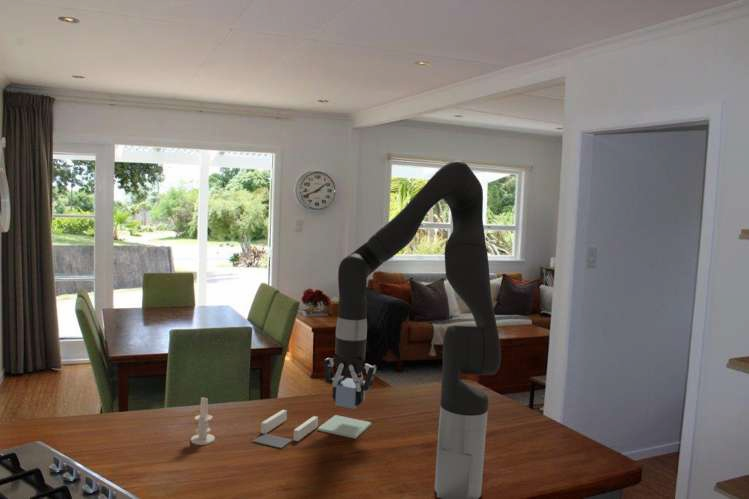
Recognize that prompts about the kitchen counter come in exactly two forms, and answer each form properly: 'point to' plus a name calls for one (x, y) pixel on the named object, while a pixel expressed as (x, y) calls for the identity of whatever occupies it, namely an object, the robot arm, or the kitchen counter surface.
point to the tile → (344, 426)
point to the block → (346, 394)
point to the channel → (280, 441)
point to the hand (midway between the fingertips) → (347, 402)
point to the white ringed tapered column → (203, 425)
